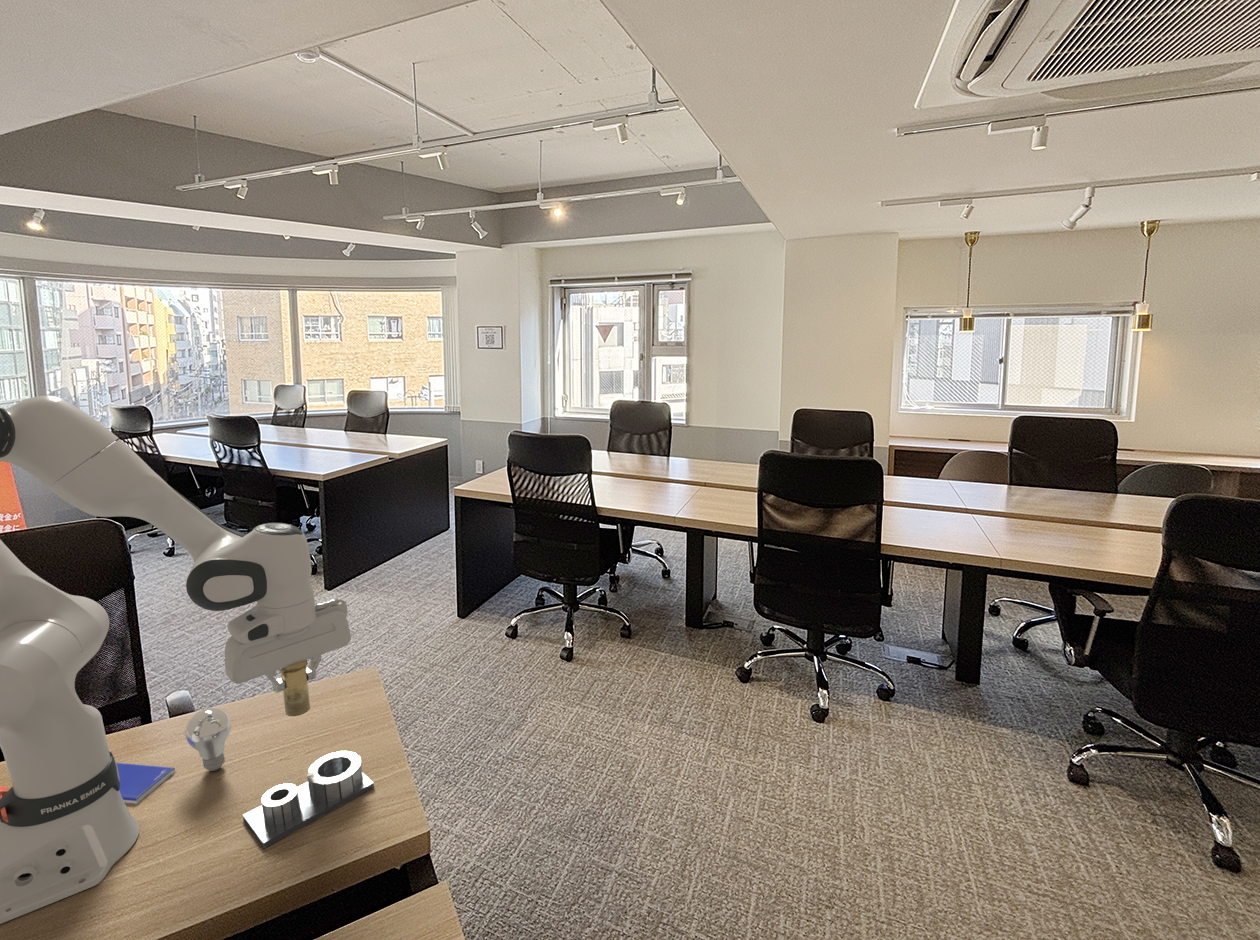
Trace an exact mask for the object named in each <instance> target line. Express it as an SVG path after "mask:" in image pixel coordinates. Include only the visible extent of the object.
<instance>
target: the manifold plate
mask: <svg viewBox="0 0 1260 940" xmlns="http://www.w3.org/2000/svg"><path fill="white" fill-rule="evenodd" d="M306 779H307V781H306V782H304V783H303V784H300V785H299V786H296V784H294V783H288V782H287V783H286V782H285V783H283V784H278V785H275V786H273V787H272V788H270V789H268V790H267V791H266V792H265V793H264V794H263V795H262V797H261V800H260V801H261V802H260V803H261V805H259V806H258V807H257V806H256V807H255V808H253V809H251V810H249V811H247V812H245V813H243V814H242V818H243V822H245V824H246V825H247V826H248V828H249V830H250V832H251V833H252V834H253V835H254V837H255V838H256V840H257V841H258V842H259V843H260V845H261V846H262V848H263V849H266V848H268V847H270V846H272V845H273V844H275V843H277V842H279V841H280V840H282V839H284V838H286V837H288V836H289V835H291V834H293V833H295V832H297V831H298V830H300V829H302V828H304V827H306V826H308V825H309V824H312V823H314V822H315V821H316V820H318V819H320V818H322V817H324V816H325V815H328V814H329V813H331V812H333V811H335V810H336V809H338V808H341V806H344V805H345V804H347V803H349V802H350V801H352V800H354V799H356V798H359V796H361V795H364V794H365V793H367V792H369V791H370V790H372V789H374V788H375V783H374V781H372V780H371V779H370V778H369V776H367V775H366V774H365V773H364V772H363V765H362V758H361V756H360V755H358V754H357V753H356V752H354V751H348V750H339V751H336V752H331V753H328V754H326V755H323V756H321V757H320V758H318V759H316V760H315V761H314V762H313V763H312V764H311V765H310V766H309V768H308V770H307V775H306Z"/></svg>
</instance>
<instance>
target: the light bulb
mask: <svg viewBox="0 0 1260 940" xmlns="http://www.w3.org/2000/svg"><path fill="white" fill-rule="evenodd" d="M231 729H232V721H231V718H230V716H229V715H228V713H227V712H226V711H224V710H222V709H220V708H215V707H211V708H210V707H209V708H205V709H204V708H203V710H200V711H198V712H197V713H195V714H194V715H193V716H192V717H191V718H190V719H189V720H188V723H187V725H186V727H185V735H184V736H185V740H186V742H187V743H188V744H189V745H190V747H191V748H193V749H194V750H196V751H197V752H198V754H199V756H200V758H201V759H202V764H203V768H204V769H205V770H207V771H210V772H216V771H218V770H219V769H221V767H222V766H223V765H224V764H225V762H226V757H225V753H224V751H225V747H226V746H225V745H226V741H227V739H228V737H229V735H230V733H231Z"/></svg>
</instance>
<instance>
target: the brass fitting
mask: <svg viewBox="0 0 1260 940" xmlns="http://www.w3.org/2000/svg"><path fill="white" fill-rule="evenodd" d="M307 666H308V660H304V661H301V662H298V663H295V664H292V665H290V666H287V667H285V668H282V669H280V670H278V671H279V672H280V678H281V679H282V680H283V681H284V682H285V686H284V687H285V690H283V691H282V693H283V701H284V710H285V711H284V712H285V715H286V716H288V717H299V716H301V715H305V714H306V713H307V712H309V711H310V709H311V703H310V694H309V693H310V692H309V683H308V681H307V672H306V668H307Z"/></svg>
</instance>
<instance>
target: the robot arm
mask: <svg viewBox="0 0 1260 940" xmlns="http://www.w3.org/2000/svg"><path fill="white" fill-rule="evenodd" d="M0 462H3V463H9V464H12V465H14V466H17V467H19V468H20V469H22V470H24V471H25V472H27V473H29V474H30V475H31V476H33V477H34V478H35V479H37V480H38V481H39V482H40V483H41V484H43V485H44V486H45V487H46V488H48V489H49V490H50V491H51V492H53V493H54V494H55V495H56V496H58V497H59V498H60V499H62V500H63V501H64V502H66V503H68V504H69V505H71V506H73V507H74V508H77V509H79V510H80V511H82V512H83V513H86V514H88V515H90V516H93V517H100V518H111V517H129V518H135V519H140V520H141V521H142V520H143V521H145V522H147V523H149V524H151V525H153V526H154V527H155V528H157V529H158V530H159V531H161V532H162V533H163V534H165V535H166V536H168V537H169V538H170V539H172V540H173V541H174V542H176V543H177V544H178V545H180V546H181V547H182V548H184V549H185V550H186V551H187V552H189V555H191V557H192V559H193V562H194V563H193V565H192V566H191V569H190V572H189V573H188V576H187V578H186V582H185V589H186V593H187V596H188V597H189V599H190V600H191V601H192V602H193V603H194V604H195V605H196V606H197V607H200V608H201V609H204V610H206V611H212V612H223V611H228V610H232V609H236V608H239V607H244V606H246V605H250V604H252V603H255V602H256V605H254V606H253V607H252V608H250V609H248V610H247V611H245V612H244V613H242V614H240V615H238V616H237V617H235V618H232V619H231V620H230V621H228V623H227V630H228V633H229V634H230V637H229V638H228V639H227V641H226V643H225V647H224V648H225V649H224V668H225V670H224V671H225V675H226V677H227V678H228V679H229V680H230V681H231V682H233V683H235V684H236V685H240V684H243V683H246V682H248V681H251V680H254V679H257V678H260V677H261V676H265V677H266V678H267V679H269V681H270V682H271V683H272V685H271V686H272V690H273V692H274V693H276V694H277V693H280V692H283V690H285V687H284V686H285V682H284V681H283V680H282V677H279V678H277V679H276V678H275V677H277V675H278V672H277V671H279V670H280V669H282V668H285V667H287V666H290V665H292V664H295V663H298V662H301V661H304V660H307V661H308V660H310V661H309V665H307V666H308V667H306V672H307V682H308V681H309V682H310V681H311V680H315V679H317V669H318V668H319V665H320V663H321V661H322V655H324V654H328V653H329V652H333V651H336V650H338V649H341V648H344V647H347V646H349V643H350V641H351V640H352V636H351V635H352V634H351V629H350V625H349V622H348V619H347V616H348V605H347V602H346V601H344V600H342V599H339V598H333V599H331V600H329V601H326V602H320V603H317V604H316V603H315V602H316V601H315V592H314V588H313V587H312V583H311V575H312V570H313V569H312V561H311V553H310V549H309V544H308V540H307V537H306V535H305V533H304V532H303V531H302V530H301V529H300V528H298V527H297V526H295V525H293V524H290V523H285V522H284V523H283V522H268V523H262V524H258V525H257V526H255V527H254V528H253V529H252V531H250V532H248V533H247V534H246V533H244V532H241V531H238V530H236V529H233V528H229V527H227V526H225V525H222V524H220V523H219V522H217V521H216V520H215V519H213V518H212V517H211V516H209V515H208V514H207V513H205V511H203V510H202V509H200V508H199V507H198V506H196V505H195V504H194V503H193V502H191V501H190V500H189V499H187V498H186V497H185V496H184V495H183V494H181V493H180V492H179V491H178V490H176V489H175V488H173V487H172V486H171V485H169V484H168V483H167V481H165V480H164V479H163V478H162V477H161V476H160V475H159V474H158V473H156V472H155V471H154V470H153V469H152V468H151V466H149V465H148V464H147V463H146V461H144V460H143V459H142V458H141V457H140V456H139V455H138V454H137V453H136V452H135V451H134V450H133V449H132V448H131V447H130V446H129V445H127V444H126V443H125V442H124V441H123V440H121V439H120V438H119V437H118V436H117V435H115V434H114V433H113V432H112V431H111V430H110V429H108V427H106V426H105V425H103V424H102V423H101V422H99V421H98V420H96V419H95V418H94V417H92V416H90V415H89V414H88V413H86V412H85V411H83V410H82V409H80V408H78V407H77V406H76V405H74V404H73V403H70V402H69V401H67V400H65V399H64V398H61V397H58V396H55V395H37V396H32V397H29V398H27V399H23V400H21V401H18V402H16V403H15V404H14V405H12V406H10V407H7V408H4V407H2V406H0ZM109 629H110V617H109V615H108V613H107V611H106V609H105V608H104V607H103V606H102V605H101V604H99V602H97V601H95V600H94V599H91V598H89V597H86V596H81V595H73V594H69V593H68V592H65V591H63V590H61V589H59V588H57V587H56V586H54V585H53V584H51V583H49V582H48V581H47V580H45V579H43V578H42V577H40V576H39V575H38V574H36V573H35V572H33V571H32V570H31V569H30V568H28V567H27V566H26V565H25V564H24V563H23V562H22V561H21V560H20V559H19V558H18V557H17V556H16V555H15V553H13V552H12V550H10V548H9V547H8V546H7V545H6V544H5V543H4V542H3V540H2V539H0V749H1V752H2V753H3V757H4V761H5V764H6V768H7V772H8V775H9V779H10V781H11V787H10V788H8V786H5V785H0V925H1V924H4V923H6V922H8V921H11V920H14V919H15V918H19V917H21V916H24V915H26V914H28V913H31V912H34V911H36V910H38V909H41V908H44V907H46V906H48V905H51V904H53V903H55V902H58V901H60V900H64V899H65V898H68V897H70V896H73V895H75V894H78V893H80V892H82V891H84V890H85V891H86V890H88V889H90V888H93V887H96V885H98V884H100V883H101V882H102V881H103V880H104V878H105V877H106V876H107V875H108V873H109V872H110V869H111V868H112V867H113V866H114V864H116V863H117V862H118V861H119V860H120V859H121V858H122V857H123V856H124V855H125V854H126V853H128V851H129V850H130V849H131V848H132V847H133V846H134V844H135V842H136V841H137V839H138V837H139V833H140V825H139V823H138V822H137V820H136V819H135V817H133V814H131V813H130V811H129V810H130V809H128V806H127V804H126V803H124V800H123V798H122V796H121V793H120V790H119V789H120V783H119V782H120V777H119V772H118V767H117V763H118V762H117V760H116V758H115V756H114V755H113V753H112V751H110V748H109V745H108V739H107V735H106V729H105V726H104V722H103V715H102V714H101V712H100V711H99V710H98V709H97V708H96V707H95V706H92V705H90V704H84V703H83V702H82V701H81V699H80V698H79V696H78V693H77V692H76V688H75V687H76V685H75V683H76V678H77V674H78V673H79V672H80V670H82V668H83V667H84V666H86V664H87V663H88V662H90V661H91V659H93V658H94V657H95V655H96V654H97V653H98V652H99V650H100V649H101V647H102V646H103V643H104V641H105V639H106V637H107V634H108V631H109Z"/></svg>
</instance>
